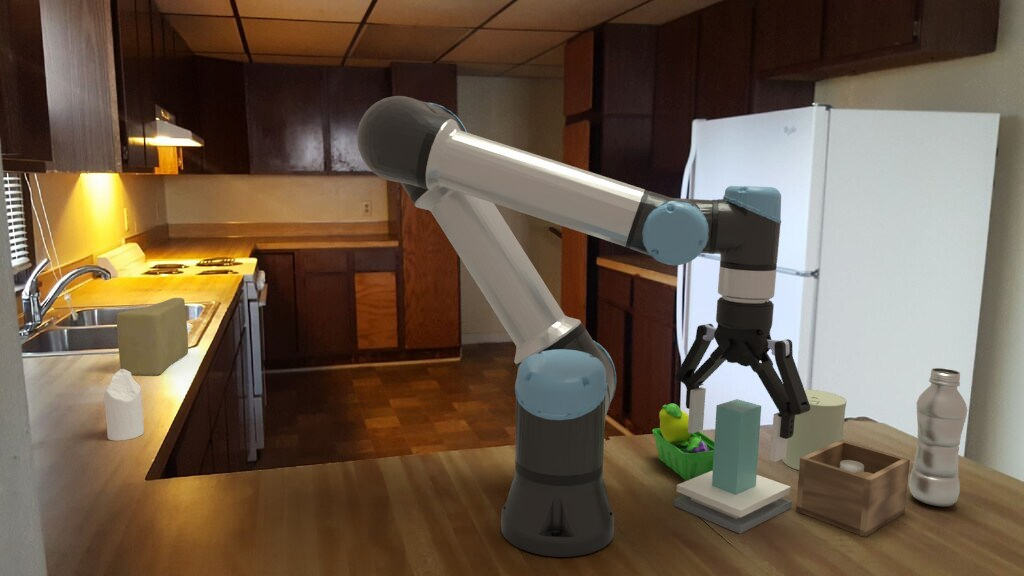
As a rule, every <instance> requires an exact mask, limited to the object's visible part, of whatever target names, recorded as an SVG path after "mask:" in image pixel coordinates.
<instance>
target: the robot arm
mask: <svg viewBox="0 0 1024 576" xmlns="http://www.w3.org/2000/svg"><path fill="white" fill-rule="evenodd" d="M358 124H359V125H358V128H357V133H356V134H357V136H356V144H357V148H358V152H359V154H360V156H361V159H362V160H363V162H364V163H365V165H366V166H367V168H369V170H371V172H372V173H373V174H374V175H377V176H378V177H379V178H382V179H384V180H387V181H391V182H394V183H395V182H396V183H400V184H401V186H402V187H403V189H404V190H405V192H406V194H407V195H408V197H409V199H410V200H411V201H412V204H413V205H414V206H415V207H416V208H417V209H418V208H419V209H423V210H425V211H426V210H427V211H429V212H430V213H431V214H432V215H433V217H434V219H435V221H436V222H437V223H438V225H439V226H440V228H441V230H442V231H443V233H444V235H445V236H446V238H447V239H448V241H449V243H450V244H451V245H452V247H453V249H454V250H455V253H456V254H457V255H458V256H459V258H460V260H461V261H462V264H464V266H465V267H466V269H467V271H468V272H469V274H470V275H471V278H472V279H473V280H474V282H475V283H476V285H477V286H478V288H479V290H480V291H481V292H482V294H483V296H484V298H485V299H486V301H487V302H488V303H489V305H490V307H491V308H492V310H493V312H494V313H495V315H496V316H497V317H498V320H499V322H500V323H501V325H502V326H503V327H504V329H505V330H506V332H507V334H508V335H509V337H510V339H511V340H512V342H513V344H514V345H515V346H516V350H515V356H514V360H513V361H514V363H515V366H516V367H517V372H516V373H517V375H516V379H515V384H514V392H515V446H514V448H515V449H514V450H515V451H514V453H515V454H514V455H515V459H514V461H515V462H514V466H515V467H514V475H513V479H512V481H511V483H510V488H509V491H508V494H507V495H508V496H507V499H506V501H505V503H504V504H503V506H502V510H501V512H500V513H501V514H500V531H501V534H502V536H503V537H504V539H505V540H506V541H507V542H508V543H510V544H511V545H513V546H514V547H516V548H518V549H520V550H522V551H526V552H528V553H531V554H535V555H540V556H547V557H555V558H557V557H558V558H569V557H571V558H572V557H579V556H585V555H589V554H592V553H596V552H597V551H600V550H602V549H604V548H606V547H607V546H608V545H609V544H610V543H611V541H612V540H613V539H614V535H615V515H614V512H613V509H612V507H611V506H610V499H609V495H608V492H607V487H606V484H605V481H604V474H603V473H604V472H603V471H604V450H605V449H604V444H605V424H606V418H607V413H608V411H609V409H610V406H611V402H612V400H613V398H614V396H615V393H616V387H617V372H616V367H615V364H614V361H613V359H612V357H611V355H610V354H609V352H608V351H607V350H606V349H605V348H604V347H603V346H602V345H601V344H600V343H598V342H596V341H595V340H593V338H592V336H591V335H590V333H589V332H588V330H587V328H586V327H585V326H584V324H583V323H582V321H581V319H578V318H574V317H569V316H567V315H565V312H564V311H563V309H562V308H561V307H560V305H559V304H558V302H557V301H556V299H555V298H554V296H553V294H552V293H551V292H550V290H549V288H548V286H547V284H545V282H544V280H543V278H542V277H541V275H540V274H539V272H538V271H537V269H536V268H535V265H533V262H532V261H531V260H530V258H529V257H528V255H527V253H526V252H525V251H524V248H523V246H522V245H521V244H520V242H519V241H518V239H517V238H516V236H515V234H514V233H513V231H512V230H511V228H510V226H509V225H508V224H507V222H506V220H505V219H504V217H503V216H502V214H501V212H500V210H498V207H497V206H496V205H498V206H501V207H504V208H507V209H510V210H513V211H516V212H519V213H522V214H526V215H529V216H532V217H535V218H538V219H541V220H542V221H543V220H544V221H547V222H550V223H552V224H556V225H559V226H562V227H564V228H568V229H569V230H574V231H577V232H579V233H583V234H586V235H589V236H592V237H595V238H599V239H602V240H604V241H607V242H610V243H614V244H616V245H620V246H622V247H625V248H629V249H631V250H632V251H636V252H639V253H641V254H644V255H648V256H651V257H652V258H653V259H654V260H655V261H657V262H659V263H661V264H665V265H668V266H669V265H670V266H682V265H685V264H688V263H690V262H692V261H694V260H695V259H696V258H697V257H699V256H700V255H701V254H709V255H719V256H720V261H719V273H718V286H717V293H718V294H719V295H720V297H719V298H718V299H717V302H716V313H715V314H716V315H715V321H716V323H717V326H716V327H715V326H714V325H713V324H712V323H706V324H705V323H704V324H701V325H698V326H697V327H696V334H695V339H694V341H693V342H692V344H691V346H690V349H689V350H688V353H687V354H686V356H685V358H684V359H683V360H682V364H681V365H680V367H679V369H678V370H677V372H676V374H675V380H676V381H677V382H679V383H680V382H681V383H682V384H683V385H685V388H686V392H685V393H686V395H685V407H686V409H687V410H689V411H688V415H689V421H688V432H689V433H691V434H692V433H695V432H702V431H704V430H703V429H704V421H705V419H704V418H705V405H706V404H705V403H706V392H707V390H706V388H705V387H703V386H704V383H705V381H706V380H707V379H708V378H709V377H710V376H711V375H712V374H714V372H716V371H717V370H718V368H719V367H721V366H722V364H723V363H724V362H727V363H730V364H738V365H739V366H742V367H750V368H751V370H752V371H753V372H754V373H756V375H757V376H758V378H759V379H760V381H761V384H763V386H764V388H765V390H766V391H767V393H768V395H769V397H770V398H771V400H772V401H773V404H774V405H775V406H776V409H777V410H778V412H776V413H774V414H773V418H772V432H771V443H770V455H769V456H770V457H769V461H771V462H774V463H776V462H778V461H781V460H782V459H783V458H786V448H787V439H788V438H790V437H792V435H793V432H794V421H795V415H799V414H802V413H805V412H808V411H809V410H810V404H809V402H808V399H807V396H806V393H805V390H806V389H805V387H804V384H803V382H802V379H801V376H800V374H799V371H798V368H797V364H796V362H795V360H794V355H793V354H794V353H793V341H792V340H791V339H789V338H788V339H787V338H786V339H783V340H776V339H772V336H771V329H772V327H773V326H772V325H773V319H774V318H773V317H774V308H775V307H774V305H775V304H774V303H773V301H771V299H773V298H774V297H775V291H776V280H777V279H776V278H777V264H778V257H779V256H778V255H779V244H780V235H781V225H782V220H781V217H782V194H781V192H780V190H779V189H777V188H775V187H772V186H754V185H753V186H750V185H749V186H748V185H747V186H746V185H743V186H742V185H739V186H738V185H730V186H729V185H728V186H727V187H726V188H725V190H724V195H723V196H722V198H719V199H699V198H698V199H697V198H693V199H692V198H679V197H678V198H676V197H669V196H666V195H663V194H661V193H657V192H653V191H650V190H646V189H644V188H641V187H637V186H635V185H631V184H628V183H626V182H623V181H619V180H617V179H613V178H610V177H607V176H603V175H601V174H598V173H594V172H592V171H588V170H585V169H582V168H579V167H576V166H572V165H569V164H567V163H563V162H561V161H557V160H554V159H551V158H548V157H544V156H542V155H538V154H535V153H533V152H529V151H526V150H522V149H520V148H516V147H513V146H511V145H507V144H504V143H500V142H498V141H495V140H491V139H488V138H485V137H482V136H480V135H479V136H478V135H475V134H473V133H470V132H468V131H467V129H466V127H465V125H464V124H463V122H462V121H461V120H460V119H459V117H458V116H457V115H456V114H454V113H453V112H452V111H451V110H449V109H448V108H445V106H442V105H440V104H437V103H433V102H428V101H426V102H425V101H422V100H419V99H415V98H413V97H408V96H403V95H394V96H390V97H389V96H388V97H385V98H383V99H380V100H379V101H377V102H375V103H374V104H372V105H371V106H369V108H368V109H367V110H365V112H364V114H363V116H362V117H361V120H360V121H359V123H358ZM713 340H715V342H716V344H717V347H716V348H715V349H714V350H713V351H712V352H711V353H710V354H709V357H708V358H707V359H706V360H705V361H704V362H703V363H702V364H701V361H702V359H703V358H704V356H705V354H706V353H707V350H708V349H709V347H710V345H711V342H712V341H713ZM770 350H771V354H772V356H774V361H775V364H776V366H777V369H778V373H777V371H776V369H775V368H774V363H773V361H772V359H771V357H770V356H769V354H768V353H769V351H770ZM700 364H701V365H700ZM699 365H700V367H699Z"/></svg>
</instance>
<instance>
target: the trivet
mask: <svg viewBox="0 0 1024 576" xmlns="http://www.w3.org/2000/svg"><path fill="white" fill-rule="evenodd" d="M792 505H793V501H792V500H790V499H787V498H784V497H782V498H780V499H778V500H776V501H774V502H772V503H769V504H767V505H765V506H763V507H761V508H759V509H757V510H755V511H753V512H751V513H749V514H747V515H745V516H743V517H741V518H738V519H736V518H733V517H731V516H728V515H726V514H723V513H721V512H719V511H716V510H714V509H711V508H709V507H707V506H704V505H702V504H699V503H697V502H694V501H692V500H691V497H689V496H686V495H684V494H682V495H681V496H679V497H676V498H674V499H673V506H674V507H675V508H678V509H681V510H684V511H685V512H687V513H690V514H692V515H695V516H697V517H700V518H702V519H704V520H706V521H708V522H711V523H714V524H716V525H718V526H721V527H723V528H725V529H727V530H730V531H732V532H735V533H737V534H738V535H741V534H743V533H745V532H747V531H749V530H751V529H752V528H753V529H754V528H755V527H757V526H759V525H761V524H763V523H764V522H766V521H768V520H770V519H772V518H774V517H776V516H778V515H780V514H782V513H784V512H786V511H788V510H790V509H792Z"/></svg>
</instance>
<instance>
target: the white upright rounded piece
mask: <svg viewBox="0 0 1024 576" xmlns="http://www.w3.org/2000/svg"><path fill="white" fill-rule="evenodd" d="M142 394H143V393H142V388H141V386H140V384H139V383H138V382H136V381H135V379H134V378H133V375H131V372H129V371H127V370H125V369H121V368H120V369H119V370H117V371H116V372H114V375H113V376H111V379H110V382H109V383H108V386H107V387H106V388H105V391H104V393H103V399H104V400H103V401H104V409H105V419H106V432H107V433H106V434H107V439H108V440H109V441H114V442H116V441H117V442H118V441H119V442H121V441H128V440H133V439H136V438H139V437H140V436H142V435H143V434H144V432H145V431H144V430H145V429H144V426H145V425H144V411H143V410H144V409H143V396H142Z"/></svg>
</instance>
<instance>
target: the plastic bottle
mask: <svg viewBox="0 0 1024 576" xmlns="http://www.w3.org/2000/svg"><path fill="white" fill-rule="evenodd" d="M930 371H931V372H930V377H929V378H928V380H929V381H928V382H929V383H931V384H930V385H929V386H928V387H927V388H926V389H925V390H924V391H923V392H922V393H921V394H920V395H919V397H918V399H917V401H916V419H917V440H916V441H917V442H916V443H917V444H916V446H917V447H916V451H915V456H914V461H913V466H912V469H911V471H910V475H909V477H908V487H909V491H910V494H911V495H912V496H913V498H914V499H915V500H918V502H921V503H924V504H927V505H930V506H934V507H942V508H943V507H944V508H945V507H951V506H953V505H954V504H955V503H957V501H958V498H959V495H960V493H961V490H960V478H959V477H960V476H959V450H960V447H959V446H960V444H961V438H962V433H963V430H964V426H965V422H966V418H967V415H968V407H967V406H968V405H967V403H966V401H965V399H964V397H963V395H962V394H961V393H960V391H959V390H958V387H960V386H961V385H960V384H961V382H960V381H961V380H960V379H961V372H960V371H957V370H955V369H950V368H943V367H935V368H931V370H930Z"/></svg>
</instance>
